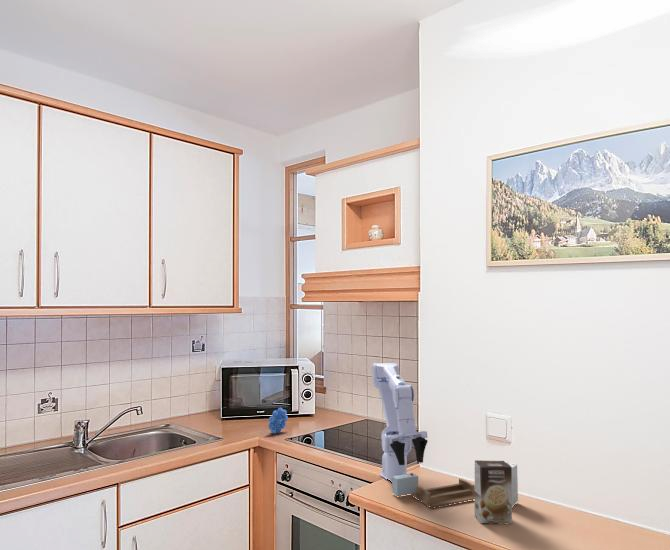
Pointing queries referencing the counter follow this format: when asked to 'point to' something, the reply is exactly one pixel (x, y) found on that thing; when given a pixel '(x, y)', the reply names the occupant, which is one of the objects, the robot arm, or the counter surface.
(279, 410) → the grapes
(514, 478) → the skincare box
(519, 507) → the counter surface
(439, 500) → the wooden tray
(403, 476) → the door panel
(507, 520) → the coffee box
